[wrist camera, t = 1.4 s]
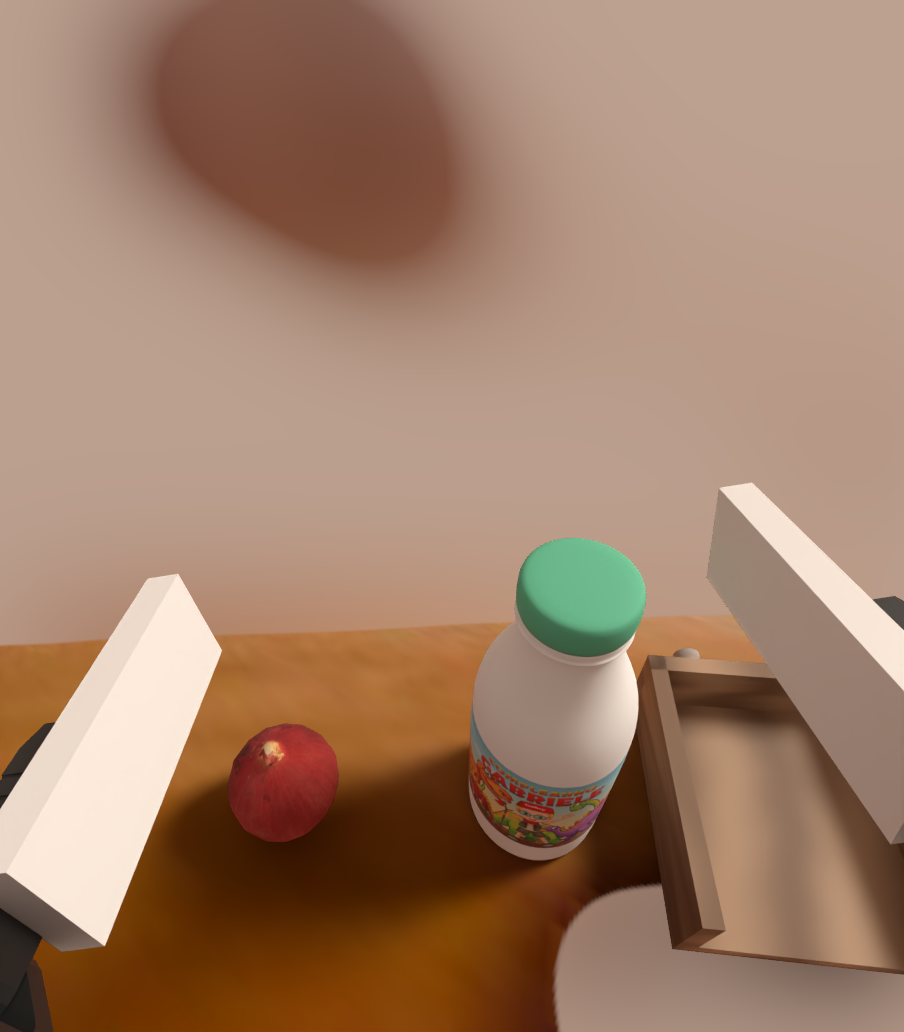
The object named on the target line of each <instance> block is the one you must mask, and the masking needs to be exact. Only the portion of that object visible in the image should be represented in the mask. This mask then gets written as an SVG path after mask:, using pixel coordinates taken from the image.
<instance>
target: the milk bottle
mask: <svg viewBox="0 0 904 1032" xmlns="http://www.w3.org/2000/svg"><path fill="white" fill-rule="evenodd" d="M516 591H517V592H516V601H515V609H514V610H515V619H516V620H515V621H514V622H513V623H511V624H510V625H509V626H508V627H506V628H505V629H504V630H503V631H502V632H501V633H500V634H499V635H498V636H497V638H496V639H495V640H494V641H493V643H492V644H491V645H490V647H489V649H488V650H487V652H486V654H485V656H484V658H483V660H482V662H481V664H480V667H479V670H478V674H477V677H476V681H475V685H474V693H473V701H472V710H471V728H470V751H469V795H470V801H471V805H472V809H473V811H474V814H475V816H476V818H477V821H478V822H479V824H480V826H481V827H482V829H483V830H484V832H485V833H486V834H487V835H488V836H489V838H490V839H491V840H493V841H494V842H495V843H496V844H497V845H498V846H500V847H501V848H502V849H504V850H506V851H507V852H509V853H511V854H513V855H516V856H518V857H521V858H525V859H530V860H549V859H554V858H557V857H560V856H563V855H565V854H567V853H568V852H570V851H572V850H573V849H574V848H576V847H577V846H578V845H579V844H580V843H581V842H582V841H583V839H584V838H585V837H586V835H587V834H588V832H589V831H590V829H591V828H592V826H593V824H594V822H595V820H596V818H597V816H598V814H599V812H600V810H601V808H602V806H603V804H604V802H605V800H606V798H607V796H608V794H609V792H610V790H611V788H612V786H613V784H614V782H615V780H616V778H617V775H618V773H619V771H620V769H621V767H622V765H623V763H624V761H625V758H626V756H627V753H628V750H629V748H630V745H631V743H632V740H633V737H634V734H635V729H636V724H637V719H638V689H637V683H636V678H635V674H634V671H633V668H632V665H631V663H630V660H629V658H628V656H627V653H626V650H627V649H628V648H629V646H630V645H631V643H632V641H633V639H634V636H635V632H636V630H637V628H638V626H639V623H640V621H641V619H642V615H643V612H644V609H645V604H646V590H645V585H644V581H643V579H642V576H641V574H640V573H639V571H638V570H637V568H636V567H635V566H634V564H633V563H632V562H631V561H630V560H629V559H628V558H627V557H625V556H624V555H623V554H621V553H620V552H618V551H617V550H615V549H613V548H611V547H609V546H607V545H605V544H602V543H600V542H596V541H593V540H587V539H581V538H565V539H558V540H554V541H550V542H548V543H545V544H543V545H541V546H540V547H538V548H537V549H535V550H534V551H533V552H532V553H531V554H530V555H529V556H528V557H527V559H526V560H525V562H524V563H523V565H522V567H521V569H520V572H519V578H518V583H517V590H516Z"/></svg>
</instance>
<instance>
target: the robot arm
mask: <svg viewBox="0 0 904 1032" xmlns="http://www.w3.org/2000/svg"><path fill="white" fill-rule="evenodd" d="M707 578H708V580H709V581H710V583H711V584H712V585H713V587H714V589H715V590H716V591H717V593H718V594H719V596H720V597H721V599H722V600H723V602H724V603H725V604H726V606H727V607H728V608H729V610H730V612H731V613H732V615H733V616H734V618H735V619H736V620H737V622H738V623H739V625H740V626H741V628H742V629H743V631H744V632H745V634H746V635H747V636H748V638H749V639H750V641H751V642H752V644H753V645H754V647H755V648H756V650H757V651H758V652H759V654H760V655H761V657H762V658H763V660H764V661H765V663H766V664H767V666H768V667H769V668H770V670H771V671H772V673H773V674H774V676H775V677H776V679H777V680H778V682H779V683H780V684H781V686H782V687H783V689H784V690H785V692H786V693H787V695H788V696H789V698H790V699H791V700H792V702H793V703H794V705H795V706H796V708H797V709H798V711H799V712H800V714H801V715H802V716H803V718H804V719H805V721H806V722H807V724H808V725H809V727H810V728H811V730H812V731H813V732H814V734H815V735H816V737H817V738H818V740H819V741H820V743H821V744H822V745H823V747H824V748H825V750H826V751H827V753H828V754H829V756H830V757H831V759H832V760H833V761H834V763H835V764H836V766H837V767H838V769H839V770H840V772H841V773H842V775H843V776H844V777H845V779H846V780H847V782H848V783H849V785H850V786H851V788H852V789H853V791H854V792H855V793H856V795H857V796H858V798H859V799H860V801H861V802H862V804H863V805H864V807H865V808H866V809H867V811H868V812H869V814H870V815H871V817H872V818H873V820H874V821H875V823H876V824H877V825H878V827H879V828H880V830H881V831H882V833H883V834H884V836H885V837H886V839H887V840H888V841H889V843H890V844H897V843H904V601H903V600H901V599H899V598H897V597H895V596H893V597H886V598H879V599H873V600H872V599H871V598H870V597H869V596H868V595H867V594H866V593H865V592H864V591H863V590H862V589H861V588H860V587H859V586H858V585H857V584H856V583H854V582H853V581H852V580H851V579H850V578H849V577H848V576H847V575H846V574H845V573H844V572H843V571H842V570H841V569H840V568H839V567H838V566H837V565H836V564H835V563H834V562H833V561H832V560H831V559H830V558H829V557H828V556H827V555H826V554H825V553H824V552H823V551H822V550H821V549H819V547H817V546H816V545H815V544H814V543H813V542H812V541H811V540H810V539H809V538H808V537H807V536H806V535H805V534H804V533H803V532H802V531H801V530H800V529H799V528H798V527H797V526H796V525H795V524H794V523H793V522H792V521H791V520H790V519H789V518H788V517H787V516H786V515H784V513H783V512H782V511H781V510H780V509H779V508H777V507H776V506H775V505H774V504H773V503H772V502H771V501H770V500H769V499H768V498H767V497H766V496H765V495H764V494H763V493H762V492H761V491H760V490H759V489H758V488H757V487H756V486H755V485H754V484H753V483H747V484H741V485H735V486H728V487H722V488H719V491H718V499H717V506H716V513H715V520H714V527H713V535H712V542H711V549H710V556H709V563H708V571H707ZM221 652H222V650H221V648H220V647H219V645H218V643H217V641H216V640H215V638H214V636H213V634H212V633H211V631H210V629H209V627H208V626H207V624H206V622H205V620H204V619H203V617H202V615H201V613H200V612H199V610H198V608H197V606H196V605H195V603H194V601H193V599H192V598H191V596H190V594H189V592H188V591H187V589H186V587H185V585H184V584H183V582H182V580H181V578H180V577H179V575H178V574H174V575H168V576H162V577H155V578H149V579H147V581H146V582H145V584H144V585H143V587H142V589H141V590H140V592H139V594H138V595H137V596H136V598H135V599H134V601H133V603H132V604H131V606H130V607H129V609H128V611H127V612H126V614H125V615H124V617H123V618H122V620H121V621H120V623H119V624H118V626H117V628H116V629H115V631H114V632H113V634H112V636H111V637H110V639H109V640H108V642H107V643H106V645H105V646H104V648H103V649H102V651H101V653H100V654H99V656H98V657H97V659H96V660H95V662H94V663H93V665H92V667H91V668H90V670H89V671H88V673H87V674H86V676H85V678H84V679H83V681H82V682H81V684H80V685H79V687H78V688H77V690H76V692H75V693H74V695H73V696H72V698H71V699H70V701H69V703H68V704H67V706H66V707H65V709H64V710H63V712H62V713H61V715H60V717H59V718H58V720H57V721H56V722H54V723H47V724H44V725H43V726H42V727H41V728H40V729H39V730H38V731H37V732H36V733H35V734H34V735H33V736H32V737H31V738H30V739H29V740H28V741H27V742H26V743H25V744H24V745H23V746H22V747H21V748H20V749H19V750H18V752H17V753H16V755H15V756H14V758H13V759H12V761H11V762H10V764H9V765H8V767H7V768H6V770H5V771H4V773H3V774H2V780H0V1032H53V1027H52V1022H51V1017H50V1012H49V1007H48V1002H47V997H46V992H45V987H44V982H43V977H42V972H41V969H40V968H39V966H38V964H37V962H36V961H35V960H33V959H32V958H33V956H34V954H35V952H36V950H37V948H38V946H39V943H40V941H41V939H44V940H45V941H47V942H48V943H50V944H51V945H52V946H54V947H55V948H57V949H58V950H60V951H61V952H64V951H72V950H79V949H87V948H95V947H102V946H105V944H106V942H107V939H108V937H109V934H110V932H111V929H112V927H113V924H114V922H115V919H116V916H117V914H118V911H119V909H120V906H121V904H122V901H123V899H124V896H125V894H126V891H127V889H128V886H129V884H130V881H131V879H132V876H133V874H134V871H135V869H136V866H137V864H138V861H139V859H140V856H141V853H142V851H143V848H144V846H145V843H146V841H147V838H148V836H149V833H150V831H151V828H152V826H153V823H154V821H155V818H156V816H157V813H158V811H159V808H160V806H161V803H162V801H163V798H164V796H165V793H166V790H167V788H168V785H169V783H170V780H171V778H172V775H173V773H174V770H175V768H176V765H177V763H178V760H179V758H180V755H181V753H182V750H183V748H184V745H185V743H186V740H187V738H188V735H189V733H190V730H191V727H192V725H193V722H194V720H195V717H196V715H197V712H198V710H199V707H200V705H201V702H202V700H203V697H204V695H205V692H206V690H207V687H208V685H209V682H210V680H211V677H212V675H213V672H214V669H215V667H216V664H217V662H218V659H219V657H220V654H221Z"/></svg>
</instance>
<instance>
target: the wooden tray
mask: <svg viewBox="0 0 904 1032" xmlns="http://www.w3.org/2000/svg"><path fill="white" fill-rule="evenodd" d="M636 683H637V689H638V719H637V724H636V729H637V735H638V741H639V747H640V753H641V759H642V765H643V772H644V778H645V784H646V790H647V796H648V802H649V808H650V815H651V821H652V827H653V833H654V839H655V845H656V852H657V858H658V864H659V870H660V876H661V882H662V888H663V894H664V900H665V907H666V913H667V919H668V925H669V931H670V937H671V943H672V949H678V950H687V951H696V952H705V953H714V954H723V955H733V956H742V957H750V958H760V959H769V960H777V961H786V962H795V963H805V964H813V965H822V966H832V967H841V968H850V969H859V970H868V971H877V972H886V973H895V974H904V843H897V844H890V843H889V841H888V840H887V839H886V837H885V836H884V834H883V833H882V831H881V830H880V828H879V827H878V825H877V824H876V823H875V821H874V820H873V818H872V817H871V815H870V814H869V812H868V811H867V809H866V808H865V807H864V805H863V804H862V802H861V801H860V799H859V798H858V796H857V795H856V793H855V792H854V791H853V789H852V788H851V786H850V785H849V783H848V782H847V780H846V779H845V777H844V776H843V775H842V773H841V772H840V770H839V769H838V767H837V766H836V764H835V763H834V761H833V760H832V759H831V757H830V756H829V754H828V753H827V751H826V750H825V748H824V747H823V745H822V744H821V743H820V741H819V740H818V738H817V737H816V735H815V734H814V732H813V731H812V730H811V728H810V727H809V725H808V724H807V722H806V721H805V719H804V718H803V716H802V715H801V714H800V712H799V711H798V709H797V708H796V706H795V705H794V703H793V702H792V700H791V699H790V698H789V696H788V695H787V693H786V692H785V690H784V689H783V687H782V686H781V684H780V683H779V682H778V680H777V679H776V677H775V676H774V674H773V673H772V671H771V670H770V668H769V667H768V666H767V664H765V663H751V662H737V661H724V660H710V659H700V656H699V653H698V651H697V650H695V649H690V648H685V649H680V650H678V651H676V652H675V653H674V655H673V657H669V656H655V655H648V657H647V659H646V661H645V664H644V666H643V668H642V671H641V673H640V675H639V678H638V680H637V682H636Z"/></svg>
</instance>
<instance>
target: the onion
mask: <svg viewBox="0 0 904 1032" xmlns="http://www.w3.org/2000/svg"><path fill="white" fill-rule="evenodd" d="M338 777H339V773H338V767H337V761H336V755H335V753H334V751H333V750H332V748H331V747H330V746H329V745H328V743H327V742H326V741H325V739H324V738H323V737H322V736H321V735H320V734H318V733H317V732H315V731H313V730H311V729H309V728H307V727H305V726H303V725H297V724H281V725H277V726H273V727H269V728H266V729H264V730H263V731H261V732H260V733H259V734H257V735H256V736H254V737H253V738H251V739H250V740H249V741H248V742H247V743H246V745H245V746H244V747H243V749H242V750H241V751H240V753H239V754H238V755H237V757H236V758H235V759H234V762H233V766H232V770H231V774H230V778H229V783H228V794H229V800H230V807H231V810H232V812H233V813H234V815H235V816H236V818H237V819H238V821H239V822H240V824H241V825H242V827H243V829H244V830H245V831H247V832H249V833H251V834H253V835H255V836H257V837H258V838H260V839H262V840H264V841H267V842H287V841H290V840H293V839H295V838H298V837H301V836H303V835H306V834H307V833H308V832H309V831H310V830H312V829H313V828H314V827H315V826H316V825H317V824H318V823H319V822H320V821H322V820H323V818H324V817H325V815H326V813H327V811H328V810H329V808H330V806H331V805H332V803H333V801H334V798H335V794H336V789H337V785H338Z"/></svg>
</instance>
